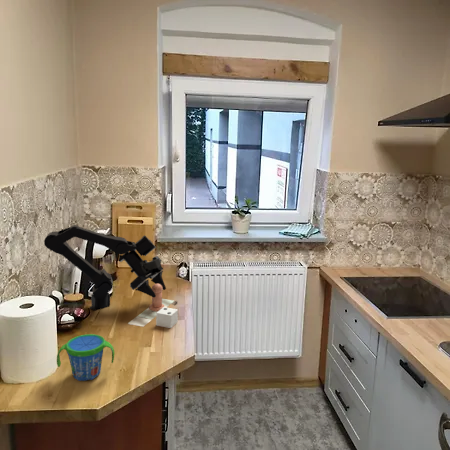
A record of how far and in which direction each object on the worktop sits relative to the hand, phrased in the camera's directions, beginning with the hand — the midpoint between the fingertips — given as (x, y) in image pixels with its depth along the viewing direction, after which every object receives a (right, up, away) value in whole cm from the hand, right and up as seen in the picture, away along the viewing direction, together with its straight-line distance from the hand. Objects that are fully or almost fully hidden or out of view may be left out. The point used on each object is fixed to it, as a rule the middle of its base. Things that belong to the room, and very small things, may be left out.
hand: (160, 293), depth 158 cm
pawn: (-2, -6, +2) cm, 7 cm away
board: (-3, -8, -1) cm, 9 cm away
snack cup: (-14, -16, -45) cm, 50 cm away
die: (+4, -10, -12) cm, 16 cm away
